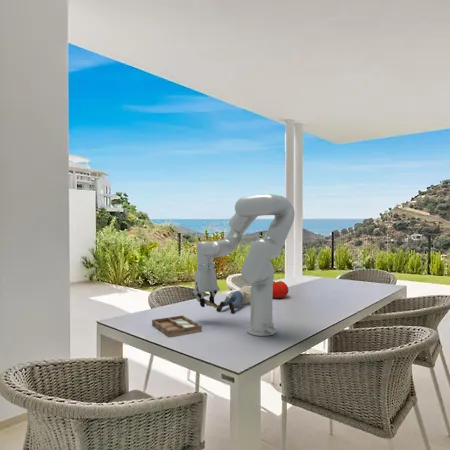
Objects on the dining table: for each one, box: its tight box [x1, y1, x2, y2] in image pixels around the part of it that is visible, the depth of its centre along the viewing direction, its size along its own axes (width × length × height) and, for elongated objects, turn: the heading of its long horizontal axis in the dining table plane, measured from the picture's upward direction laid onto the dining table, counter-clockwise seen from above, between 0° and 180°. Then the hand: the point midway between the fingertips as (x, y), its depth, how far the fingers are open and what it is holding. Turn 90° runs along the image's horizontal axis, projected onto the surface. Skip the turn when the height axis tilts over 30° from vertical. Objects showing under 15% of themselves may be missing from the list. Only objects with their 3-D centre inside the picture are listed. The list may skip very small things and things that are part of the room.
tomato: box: [272, 280, 289, 299], centre depth 236 cm, size 14×16×10 cm
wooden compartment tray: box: [151, 315, 203, 338], centre depth 170 cm, size 21×15×2 cm
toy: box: [215, 285, 251, 315], centre depth 211 cm, size 23×10×30 cm
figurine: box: [196, 295, 221, 309], centre depth 178 cm, size 4×4×15 cm
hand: (207, 305), depth 179 cm, fingers closed on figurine, 4 cm apart
